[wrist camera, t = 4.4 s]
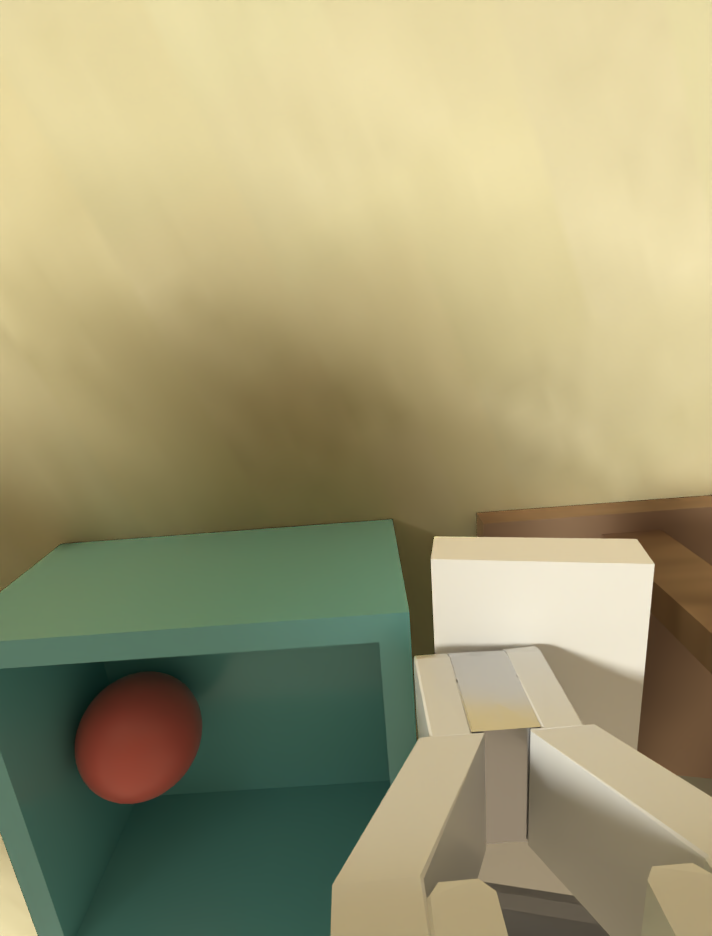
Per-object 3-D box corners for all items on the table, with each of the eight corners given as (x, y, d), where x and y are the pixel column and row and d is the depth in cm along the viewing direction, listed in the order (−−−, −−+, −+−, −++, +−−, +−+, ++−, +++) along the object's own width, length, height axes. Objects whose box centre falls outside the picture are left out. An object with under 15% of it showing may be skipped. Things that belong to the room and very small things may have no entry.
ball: (62, 815, 17) (159, 850, 16) (30, 717, 16) (132, 745, 15) (146, 726, 21) (232, 748, 19) (126, 640, 20) (215, 657, 18)
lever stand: (480, 777, 22) (577, 1138, 12) (476, 512, 19) (607, 728, 9) (720, 761, 22) (1007, 1116, 12) (761, 491, 18) (1208, 688, 9)
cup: (128, 800, 22) (50, 969, 17) (61, 543, 19) (-68, 645, 13) (409, 781, 22) (428, 948, 16) (392, 518, 19) (409, 612, 13)
